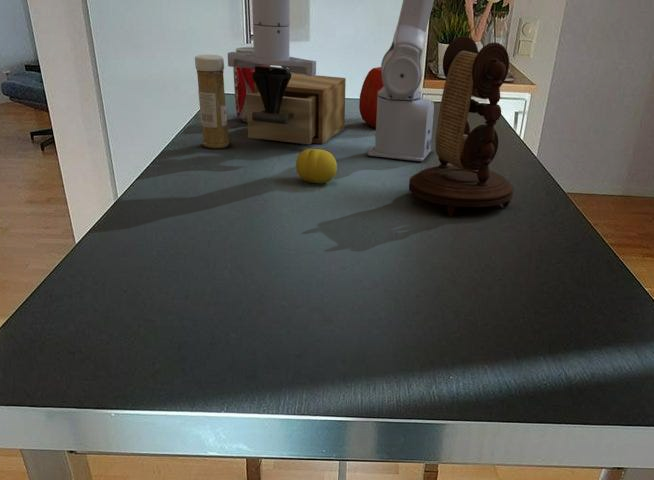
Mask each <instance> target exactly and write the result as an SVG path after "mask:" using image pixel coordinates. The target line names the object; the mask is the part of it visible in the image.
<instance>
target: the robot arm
mask: <svg viewBox="0 0 654 480" xmlns="http://www.w3.org/2000/svg"><path fill="white" fill-rule="evenodd" d="M434 2H435V0H402V4H401V8H400V12H399V16H398V21H397V24H396V27H395V31H394V34H393V38H392V42H391V44H390V47H389V49H388V50H387V51H386V52H385V53H384V55H383V57H382V60H381V64H380V67H381V72H382V81H383V85H384V86H383V88H382V89H381V90H379V91H378V98H377V118H376V128H375V139H374V141H375V142H374V147H373V148H371V149H370V150H369V151H368V152H367V156H369V157H378V158H387V159H396V160H403V161H404V160H405V161H412V162H423V161H424V160H425V159H426V157H428V155H429V154H430V153H431V151H432V148H431V147H432V139H433V138H432V137H433V136H432V135H433V127H434V126H433V125H434V115H435V103H434V100H433V99H428V98H423V97H422V92H421V90H419V87H420V85H421V82H422V77H423V70H422V65H421V62H422V55H423V51H424V46H425V39H426V34H427V33H426V32H427V29H428V25H429V21H430V16H431V13H432V10H433V5H434ZM251 5H252V11H251V12H252V40H253V41H252V47H253V48H254V53H242V52H236V51H229V52H227V67H230V68H233V67H235V66H236V67H244V68H253V69H255V73H253V74H252V76H253V80H254V82H255V84H256V86H257V88H258V90H259V92H260V95H261V98H262V101H263V104H264V108H265V112H266V113H273V114H279V111H280V106H281V102H282V99H283V95H284V93H285V90H286V87H287V85H288V83H289V81H290V79H291V73H296V74H305V75H307V76H314V75H317V60H312V59H304V58H301V57H300V58H299V57H294V56H290V0H251ZM259 64H262V65H270V66H262V65H259Z"/></svg>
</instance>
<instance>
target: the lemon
mask: <svg viewBox="0 0 654 480" xmlns="http://www.w3.org/2000/svg"><path fill="white" fill-rule="evenodd" d="M295 168H296V173H297V174H298V177H300V179H301V180H303V181H305V182H308V183H313V184H327V183H329V182H330V181H332V180H333V179H334V178H335V177H336V174H337V169H338V163H337V160H336V158H335V156H334V155H333V154H332V153H331V152H329V151H327V150H324V149H319V148H306V149H304V150H303V151H301V152H300V153H299V154H298V156H297V157H296V160H295Z"/></svg>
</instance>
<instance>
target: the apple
mask: <svg viewBox="0 0 654 480" xmlns="http://www.w3.org/2000/svg"><path fill="white" fill-rule="evenodd" d="M383 86H384V85H383V81H382V72H381V66H377V67H373V68H371V69H370V70H369V71H368V73H367V75H366V76H365V78H364V81H363V83H362V86H361V89H360V94H359V104H358V109H359V114H360V117H361V119H362V120H363V121H364V122H365V123H366V125H369V126H370V127H372V128H375V129H376V118H377V98H378V91H379V90H381V89H382V88H383Z"/></svg>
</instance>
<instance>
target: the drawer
mask: <svg viewBox="0 0 654 480" xmlns="http://www.w3.org/2000/svg"><path fill="white" fill-rule="evenodd" d="M318 97H319V94H309V93H298V92H288V91H285V93H284V95H283V99H282V102H281V106H280V111H279V114H273V113H266V112H265V108H264V104H263V101H262V98H261V95H260V92H258V93H256V94H253V93H248V94H246V101H247V120H248V122H247V136H248V138H249V139H255V140H256V139H258V140H267V141H274V142H275V141H276V142H285V143H293V144H302V145H311V144H313V143H312V138H313V137H315V136H316V135H318Z"/></svg>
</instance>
